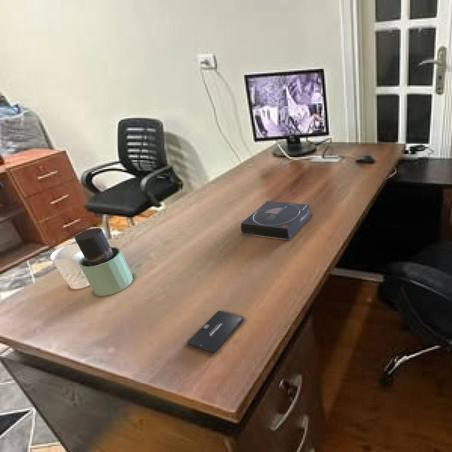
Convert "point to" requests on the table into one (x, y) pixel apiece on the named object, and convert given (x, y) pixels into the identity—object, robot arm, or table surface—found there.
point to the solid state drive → (215, 332)
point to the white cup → (70, 265)
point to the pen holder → (108, 274)
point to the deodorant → (94, 246)
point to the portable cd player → (276, 220)
